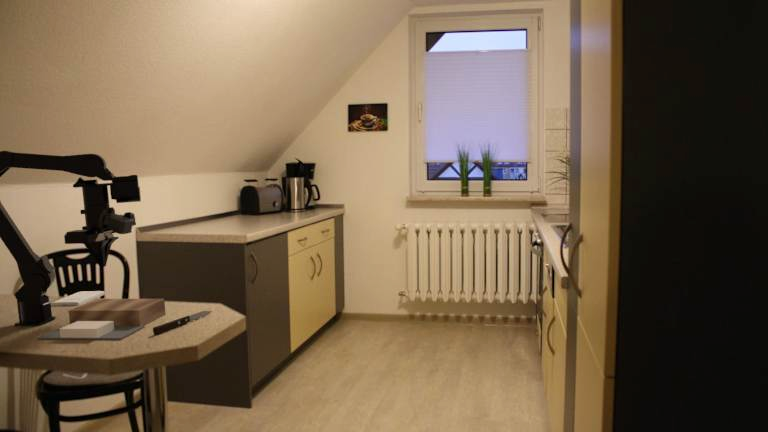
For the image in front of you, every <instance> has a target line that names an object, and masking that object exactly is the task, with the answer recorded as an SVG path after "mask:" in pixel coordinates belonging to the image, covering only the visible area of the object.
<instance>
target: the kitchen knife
mask: <svg viewBox="0 0 768 432" xmlns="http://www.w3.org/2000/svg"><path fill="white" fill-rule="evenodd" d="M212 312H213V311H212V310H201V311H198V312H196V313H193V314H190V315H185V316H183V317H180V318H177V319H175V320H172V321H168V322H166V323H162V324H160V325H157V326H154V327H152V332H153V335H154V336H159V335H160V334H162V333H165V332H166V333H167V332H169V330H170V331H172V329H173V330H175V329H178V328H180V327H182V325H183V326H184V325H186V324H189V323H188V322H190V323H192V322H194V321H193V320H195V321H197V320H196V319H198V318H200V317H203V316H205V317H207V316H208V315H210V314H211V313H212ZM206 315H207V316H206ZM203 318H204V317H203ZM200 319H201V318H200ZM198 320H199V319H198ZM191 321H192V322H191ZM179 326H180V327H179ZM177 327H178V328H177Z"/></svg>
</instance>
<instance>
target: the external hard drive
mask: <svg viewBox="0 0 768 432" xmlns="http://www.w3.org/2000/svg"><path fill="white" fill-rule="evenodd" d="M105 295H106V292H105V291H104V290H92V291H91V290H89V291H87V290H86V291H84V290H83V291H77V292H74V293H73V294H70V295H67V296H65V297H63V298H60V299H58V300H56V301H53V302H50V303H51V307H60V306H61V307H62V306H64V307H65V306H69V307H72V306H73V307H74V306H82V305H84V304H87V303H89V302H92V301H94V300H96V299H99V298H100V297H102V296H103V297H104V296H105Z"/></svg>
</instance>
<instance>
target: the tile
mask: <svg viewBox="0 0 768 432" xmlns="http://www.w3.org/2000/svg"><path fill="white" fill-rule="evenodd" d="M64 326H65V327H64ZM64 326H63V327H60V328H58V329H59V330H60V338H98V337H100V336H103V335H105V334H107V333H109V332H111V331H113V330H114V321H77V322H74V323H72V324H70V323H69V324H67V325H64Z"/></svg>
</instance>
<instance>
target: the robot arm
mask: <svg viewBox="0 0 768 432" xmlns="http://www.w3.org/2000/svg"><path fill="white" fill-rule="evenodd" d="M11 168H13V169H16V168H17V169H30V170H32V169H33V170H45V171H48V170H49V171H58V172H59V171H62V172H66V173H71V174H74V175H77V176H79V177H78V178H77V181H75V183H74V184H72V188H76V189H77V188H82V189H81V190H82V199H83V201H82V202H83V209H80V215H84V219H85V225H84V226H82V227H81V228H82V229H75V230H70V231H67V232H65V234H64V236H63V237H64V244H66V245H67V244H68V245H70V244H72V245H75V244H82V245H84V246H85V248H87V250H88V252H90V254H91V255H92V257H93V259H94V260H95V262H96V263H97V264H98V266H99V267H100V268H104V267H106V266H107V263H108V257H109V254H110V249H111V246H112V245H113V243H114V242H115V241H117V240H118V239H119V236H114V235H115V234H118V235H126V234H131V233H132V232H133V231H132V228H133V226H136V225H137V222H136V217H135V213H133V212H131V211H128V212H124V213H123V214H117V213H116V211H115V208H114V207H113V206H111V207H110V199H111V200H115V201H116V204H121V203H123V204H124V203H137V202H141V200H142V199H141V188H140V185H139V178H138V174H132V175H131V174H129V175H126V176H124V175H121V176H115V175H114V173H113V172H111V170H109V168H107V162H106V160H105V158H103V157H102V155H100V154H97V153H83V154H72V155H53V154H41V153H40V154H38V153H28V152H27V153H26V152H14V151H10V150H0V178H1V177H3V175H5V173H7V172H8V171H9V170H10V169H11ZM80 176H82V177H87V178H98V179H100V180H102V181H103V182H104V181H111V182H104V183H99V182H98V179H84V178H82V177H80ZM108 186H109V188H108ZM108 189H109V190H108ZM109 192H110V198H109ZM0 239H1V241H2V243H3V244H4V246H5V247H6V249H7V250H8V251H9V253H10V254H11V256H12V258H14V261H15V262H16V266H17V268H18V269H17V270H18V271H19V273H18V274H19V276H20V278H21V280H22V283H23V284H22V285H21V287H20V288H19V289H18V290H17V291H16V292H15V293H14V295H13V296H14V297H15V299H16V304H17V313H18V322H14V326H18V325H23V326H31V327H32V326H36V327H37V326H40V325H42V324H45V323H48V322H50V321H53V320H55V319H56V316H53V315H52V313H53V312H52V306H51V303H52V302H50V296H49V295H46V293H47V292H48V289H49V288H50V287H51V286H52V285H53V283H54V282H55V280H56V273H55V270H56V267H55V266H54V265H52V263H51V262H50V260H49V258H48V255H46V254H45V255H43V256H42V257H40V256H39V255H37V254H36V253H35V251H33V248H31V245H30V244H29V243H28V241H27V239H26V238H25V237H24V235H23V234H22V233H21V231H20V229H19V228H18V226H17V224H16V223H15V222H14V220H13V218H12V217H11V215H10V214H9V213H8V211H7V210H6V208H5V206H4V205H3V204H2V201H1V200H0Z"/></svg>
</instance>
